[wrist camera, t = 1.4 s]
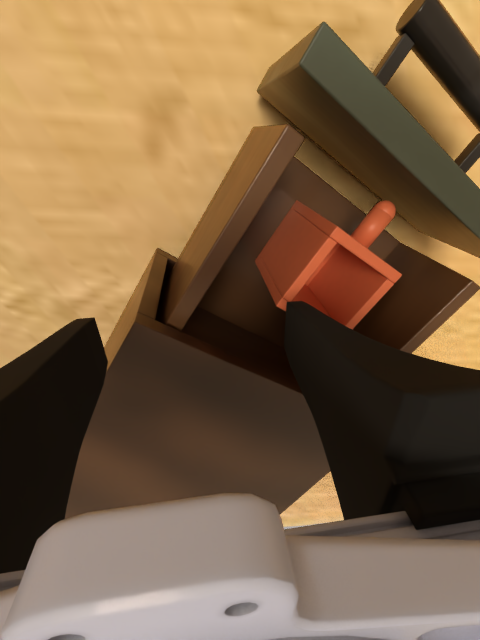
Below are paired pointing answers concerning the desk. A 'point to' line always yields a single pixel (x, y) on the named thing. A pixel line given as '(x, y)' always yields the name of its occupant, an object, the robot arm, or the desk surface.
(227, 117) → the desk surface
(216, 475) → the cabinet
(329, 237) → the scoop
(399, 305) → the drawer
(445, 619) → the robot arm
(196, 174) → the desk surface
